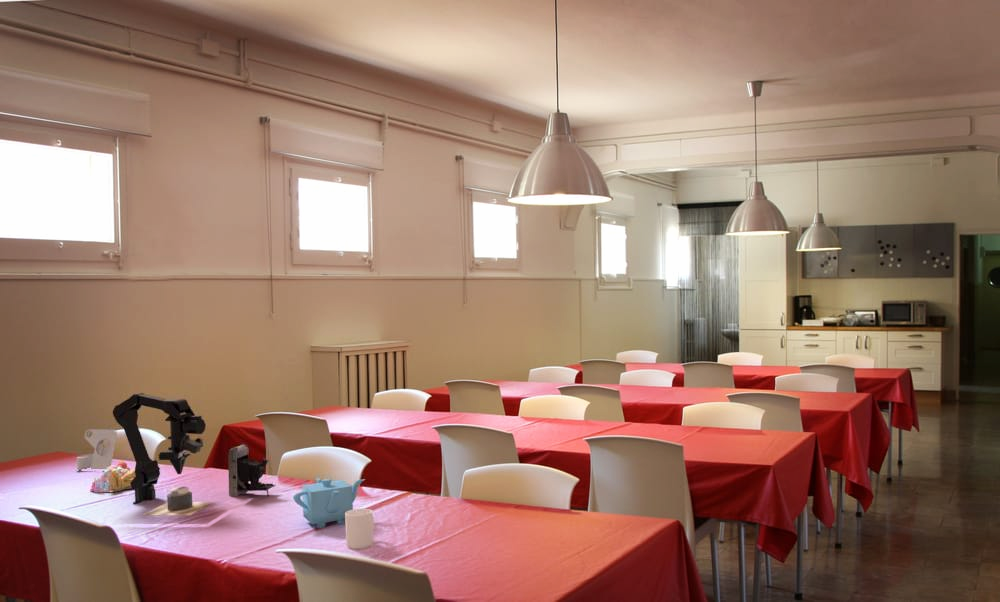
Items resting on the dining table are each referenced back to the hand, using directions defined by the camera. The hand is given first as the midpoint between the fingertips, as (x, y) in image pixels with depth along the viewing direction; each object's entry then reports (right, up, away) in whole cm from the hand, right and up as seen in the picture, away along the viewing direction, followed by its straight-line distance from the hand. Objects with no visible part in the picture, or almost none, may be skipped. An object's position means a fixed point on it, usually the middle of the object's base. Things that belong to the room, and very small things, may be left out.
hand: (179, 474), depth 318 cm
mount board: (+4, -12, -11) cm, 16 cm away
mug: (+79, -10, -58) cm, 98 cm away
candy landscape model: (-39, -13, +35) cm, 54 cm away
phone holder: (-65, -13, +72) cm, 98 cm away
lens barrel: (+4, -10, -10) cm, 15 cm away
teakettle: (+64, -10, -32) cm, 72 cm away
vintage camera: (+25, -11, +9) cm, 29 cm away
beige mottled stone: (+4, -7, -10) cm, 12 cm away
